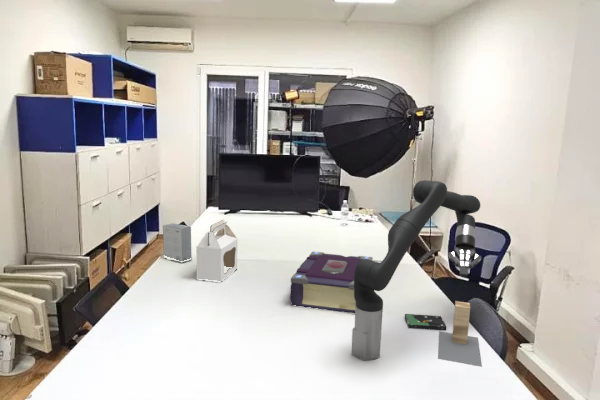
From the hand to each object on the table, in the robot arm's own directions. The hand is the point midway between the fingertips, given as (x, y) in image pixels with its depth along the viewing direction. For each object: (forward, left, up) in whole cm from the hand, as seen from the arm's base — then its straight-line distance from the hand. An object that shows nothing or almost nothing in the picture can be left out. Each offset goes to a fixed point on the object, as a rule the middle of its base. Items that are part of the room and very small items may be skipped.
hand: (463, 276), depth 170 cm
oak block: (-9, -5, -21) cm, 24 cm away
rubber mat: (-15, -8, -22) cm, 28 cm away
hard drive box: (-46, +149, -22) cm, 158 cm away
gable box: (-41, +113, -22) cm, 122 cm away
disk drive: (-7, +11, -23) cm, 26 cm away
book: (-10, +59, -22) cm, 64 cm away
